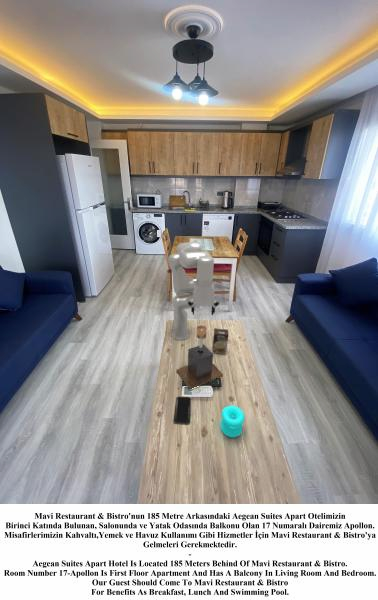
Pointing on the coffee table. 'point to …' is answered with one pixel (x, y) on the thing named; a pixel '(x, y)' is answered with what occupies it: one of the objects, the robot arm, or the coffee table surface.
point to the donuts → (232, 421)
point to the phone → (182, 410)
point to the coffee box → (220, 341)
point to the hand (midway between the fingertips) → (202, 313)
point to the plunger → (201, 336)
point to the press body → (199, 368)
